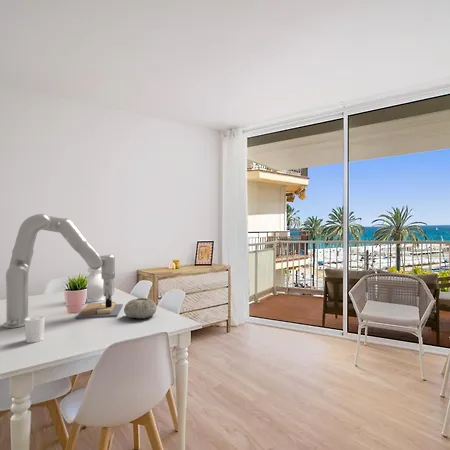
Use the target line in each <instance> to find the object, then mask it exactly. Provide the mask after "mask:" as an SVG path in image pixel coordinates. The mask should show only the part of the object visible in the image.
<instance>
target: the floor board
mask: <svg viewBox="0 0 450 450" xmlns="http://www.w3.org/2000/svg"><path fill="white" fill-rule="evenodd" d="M102 303H103V302H89V303H88V304H86V306H85V307H83V308H82V310H80V312H79V313H78V314H77V315H76V316H75V320H76V319H77V320H79V319H82V320H83V319H97V318H101V319H102V318H115V317H118V316H119V313H120V312H121V310H122V307H123V303H116V305H115V307H114V308H113V310H112V312H111V313H106V314H97V310H98V309H99V307H100V306H101V305H102Z"/></svg>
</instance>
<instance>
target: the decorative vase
mask: <svg viewBox="0 0 450 450" xmlns="http://www.w3.org/2000/svg"><path fill="white" fill-rule="evenodd" d="M87 272H88V273H89V274H88V275H87V276H86V278H87V279H88V286H87V296H86V297H87V298H86V299H87V301H86V302H89V303H97V302H101V301H104V300H106V297H105V296H104V292H103V279H102V276H101V268H99V269H97V270H94V269H91V268H90V267H89V266H88V269H87Z"/></svg>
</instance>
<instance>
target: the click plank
mask: <svg viewBox="0 0 450 450" xmlns="http://www.w3.org/2000/svg"><path fill="white" fill-rule="evenodd" d="M101 303H102V305H101V306H100V307H99V309H98V310H97V314H106V313H111V312H112V310H113V308H114V307H115V305H116V304H117V302H116V301H112V306H111V307H106V301H105V302H101Z"/></svg>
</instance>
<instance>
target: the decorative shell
mask: <svg viewBox="0 0 450 450" xmlns="http://www.w3.org/2000/svg"><path fill="white" fill-rule="evenodd" d="M123 311H124V314H125V316H126V317H128V318H130V319H131V318H132V319H147V318H150V317H153V315H155V314H156V312H157V304H156V302H155V301H154V299H151V298H149V297H146V298H145V297H138V298H135V299H134V298H133V299H131V300H129V301H128V302H127V303H126V304H125V306H124V308H123Z"/></svg>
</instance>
